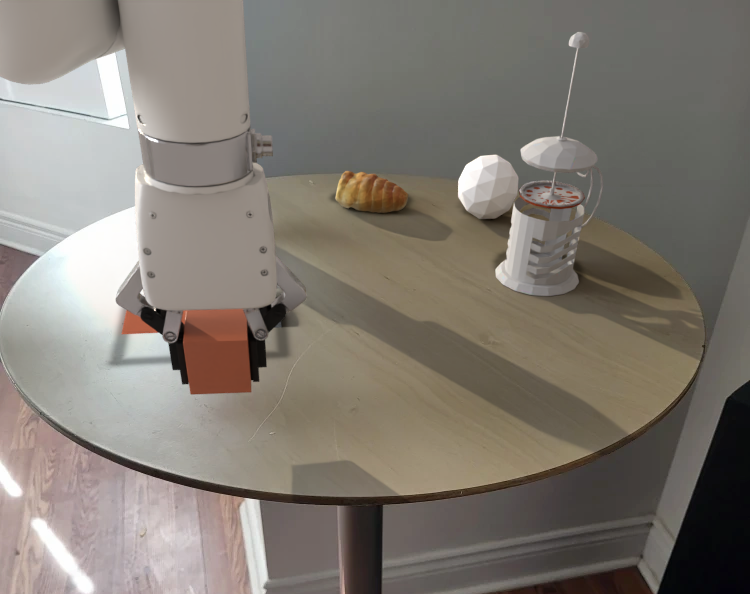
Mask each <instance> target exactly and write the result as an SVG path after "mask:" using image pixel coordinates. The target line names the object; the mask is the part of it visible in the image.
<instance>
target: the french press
mask: <svg viewBox="0 0 750 594" xmlns="http://www.w3.org/2000/svg"><path fill="white" fill-rule="evenodd" d="M589 45H590V37H589V36H588V34H587V33H586V32H583V31H577V32H575V33H574V34H573V35H571V36H570V38H569V41H568V46H569V47H571V48H576V51H575V56H574V63H573V69H572V74H571V79H570V84H569V90H568V97H567V102H566V107H565V112H564V118H563V124H562V129H561V134H560V135H557V136H544V137H540V138H536V139H534V140H533V141H531V142H529V143H528V144H525V145H524V146H522V147H521V148H520V156H521V159H522V161H524V162H525V163H526V164H527V165H528V166H531V167H533V168H536V169H538V170H543V171H547V172H551V173H554V175H553V180H549V179H548V180H545V179H544V180H536V181H535V180H534V181H530V182H526V183H523V185H521V187H520V188H518V194H519V197H518V198H516V199H515V200H514V202H513V205H512V214H511V219H510V223H511V226H510V227H509V237H508V240H507V248H506V253H505V256H506V257H505V259H504V260H503V261H501V262H500V264H499V265H498V266H497V267H496V268H495V271H494V272H495V278H496V279H497V280H498V281H499V283H501V285H503V286H504V287H507V288H509V289H511V290H513V291H514V292H517V293H522V294H525V295H530V296H542V297H553V296H558V295H564V294H567V293H569V292H572V291H573V290H575V289H576V287H577V286H578V284H579V283H580V280H579V275H578V273H577V272H576V271H575V269H574V265H575V260H576V254H577V250H578V247H579V246H578V245H579V241H580V237H581V232H582V229H583V228H584V227H585V226H586V225H588V223H589V222H590V221H591V220H592V219H593V217H594V216H595V214H596V212H597V210H598V208H599V206H600V203H601V201H602V195H603V191H604V178H603V173H602V171H601V170H600V168H599V167H598V166H596V163H598V161H599V159H598V156H597V153H596V152H595V151H593V149H591V148H590V147H588V146H587V145H585V144H584V143H583V142H581V141H579V140H577V139H573V138H571V137H566V136H564V133H565V128H566V123H567V117H568V112H569V106H570V102H571V101H570V100H571V96H572V90H573V85H574V78H575V73H576V68H577V62H578V57H579V53H580V49H586V48H588V47H589ZM593 169H595V170H596V172H597V173H598V174H599V175H598V176H599V179H600V191H599V195H598V198H597V202H596V205H595V207H594V208H593V211H592V213H591V215H590V216H589V217H588V218H587V220H586V221H585V222H584V223H583V221H584V217H585V214H586V213H585V212H586V210H585V209H586V208H587V206H588V203H589V201H590V199H591V196H592V193H593V187H594V171H593ZM585 171H586V173H585V174H583V173H582V172H585ZM557 173H561V174H573V173H576V174H577V176H579V177H582V178H587V177H588V175H589V173H590V187H589V190H588V195H587V198H586V196H585V193H584V192H583V191H582V190H581V189H580V188H578V187H577V186H575V185H572V184H569V183H567V182H565V183H564V182H563V181H562V182H561V181H558V180H557V181H556V179H557ZM585 199H586V201H585V203H584V205H582V203H583V202H584V200H585ZM528 205H532V206H535V207H531V208H528V209H526V210H523V211H521V210H522V209H523V208H524V207H525V206H528ZM537 207H539V208H537ZM575 207H576V211H575V216H574V218H573V219H571V216H572V215H571V214H572V210H573V208H575ZM541 208H544V209H541ZM545 209H549V210H550V212H549V211H547V210H545ZM530 215H538V216H542V217H544V218H545V219H548V220H544V219H540V218H535V217H532V216H530ZM569 232H571V235H569V236H567V235H568V233H569ZM534 239H536V240H534ZM537 240H538V241H537ZM542 242H544V243H542ZM568 243H569V244H568ZM567 244H568V246H567V247H566V248H565V245H567ZM565 255H566V257H565V258H563V256H565Z"/></svg>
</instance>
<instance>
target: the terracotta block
mask: <svg viewBox="0 0 750 594" xmlns="http://www.w3.org/2000/svg"><path fill="white" fill-rule="evenodd" d="M183 345H184V353H185V360H186V367H187V374H188V381H189V384H188V386H189V387H188V388H189V394H190V395H192V396H193V395H216V394H244V393H245V394H247V393H252V391H253V390H252V380H251V374H250V361H249V348H248V321H247V319H246V316H245V314H244V311H243V309H227V310H186V317H185V327H184V338H183Z"/></svg>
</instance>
